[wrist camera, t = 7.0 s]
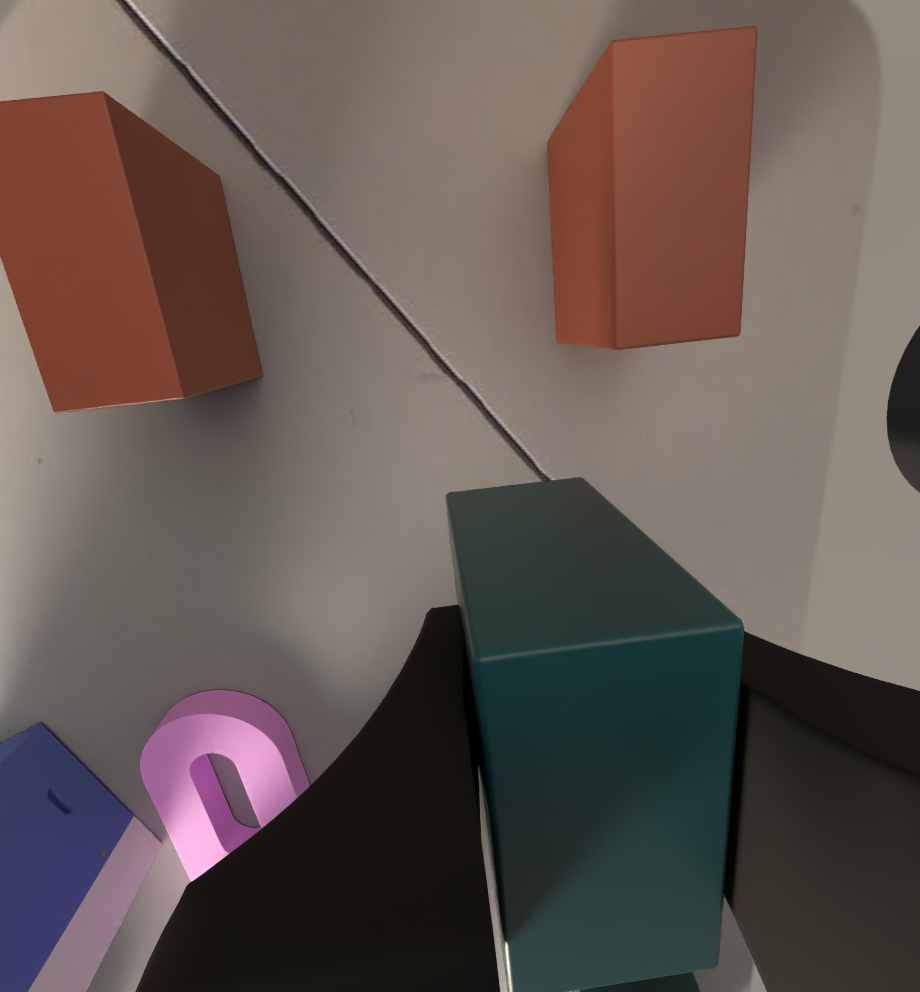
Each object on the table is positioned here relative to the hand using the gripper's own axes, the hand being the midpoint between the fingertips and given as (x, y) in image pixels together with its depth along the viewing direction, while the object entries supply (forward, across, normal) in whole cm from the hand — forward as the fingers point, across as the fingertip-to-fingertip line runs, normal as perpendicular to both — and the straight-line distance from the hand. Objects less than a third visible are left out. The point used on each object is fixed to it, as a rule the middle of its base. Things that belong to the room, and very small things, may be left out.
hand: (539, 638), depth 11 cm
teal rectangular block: (+2, 0, 0) cm, 2 cm away
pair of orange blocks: (+9, +2, -8) cm, 13 cm away
